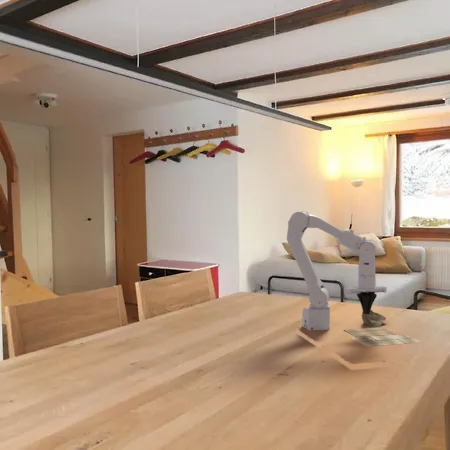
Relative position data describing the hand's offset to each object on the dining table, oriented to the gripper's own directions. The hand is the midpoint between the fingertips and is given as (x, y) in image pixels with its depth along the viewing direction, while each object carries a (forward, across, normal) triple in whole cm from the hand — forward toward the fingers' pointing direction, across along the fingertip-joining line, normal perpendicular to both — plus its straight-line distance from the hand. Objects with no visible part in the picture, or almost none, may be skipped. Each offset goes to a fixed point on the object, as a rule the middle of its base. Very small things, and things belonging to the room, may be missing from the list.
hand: (366, 313), depth 173 cm
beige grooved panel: (+8, 0, -12) cm, 14 cm away
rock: (+8, +9, +8) cm, 14 cm away
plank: (+7, 0, -2) cm, 8 cm away
